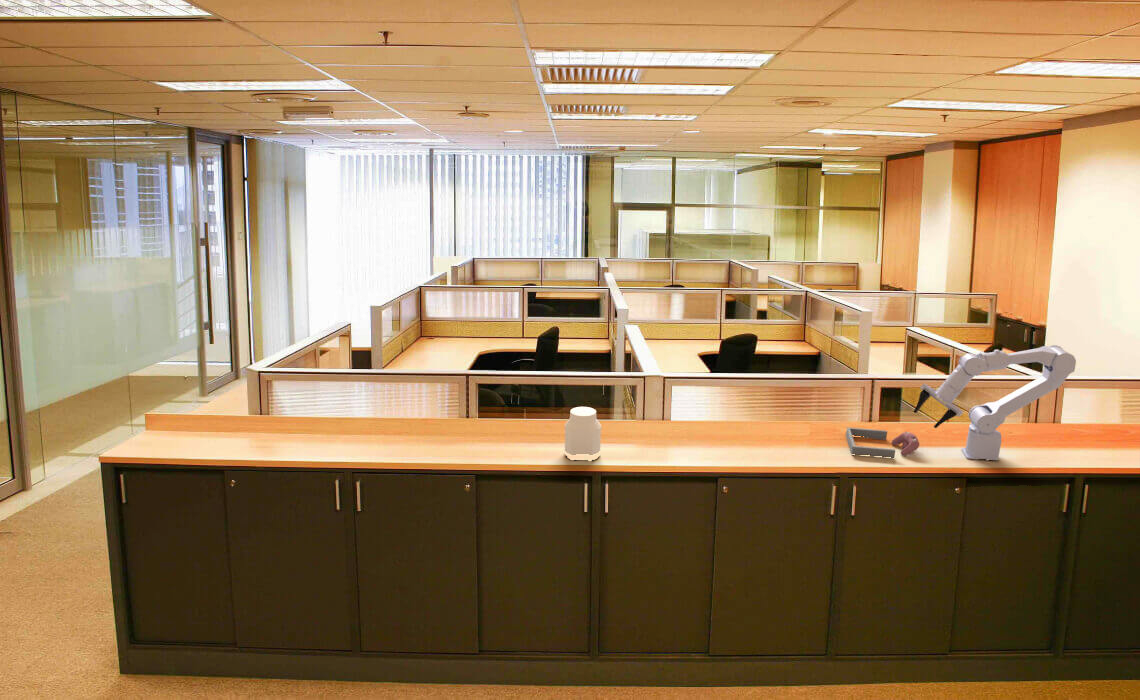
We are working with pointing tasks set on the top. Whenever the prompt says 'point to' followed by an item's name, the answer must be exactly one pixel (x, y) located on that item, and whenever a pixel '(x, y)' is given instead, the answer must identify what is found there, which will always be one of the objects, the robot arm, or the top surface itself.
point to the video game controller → (907, 442)
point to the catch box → (868, 450)
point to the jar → (582, 432)
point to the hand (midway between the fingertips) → (924, 419)
